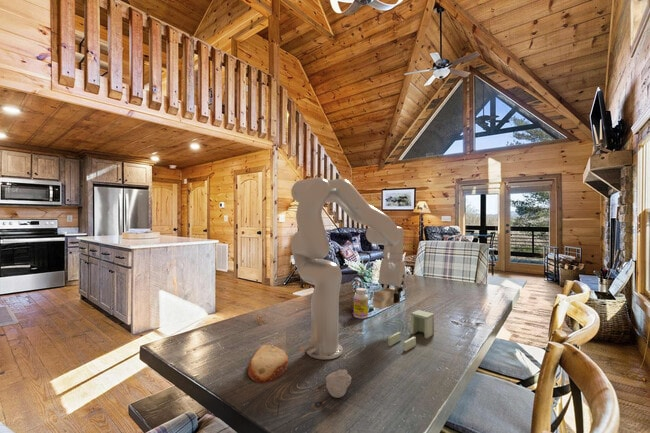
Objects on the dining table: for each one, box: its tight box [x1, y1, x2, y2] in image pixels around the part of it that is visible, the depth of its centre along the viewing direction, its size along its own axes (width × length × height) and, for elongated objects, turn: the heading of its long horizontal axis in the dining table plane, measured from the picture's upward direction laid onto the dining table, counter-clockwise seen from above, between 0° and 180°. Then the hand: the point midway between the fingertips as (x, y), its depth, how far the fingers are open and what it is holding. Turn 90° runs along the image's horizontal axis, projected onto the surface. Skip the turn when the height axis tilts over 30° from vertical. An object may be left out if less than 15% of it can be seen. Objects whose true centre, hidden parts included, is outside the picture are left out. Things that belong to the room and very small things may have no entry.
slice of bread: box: [247, 344, 289, 384], centre depth 98 cm, size 18×18×4 cm
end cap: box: [410, 309, 435, 339], centre depth 124 cm, size 6×7×8 cm
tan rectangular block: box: [372, 286, 401, 310], centre depth 124 cm, size 14×4×6 cm, turn 135°
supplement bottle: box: [353, 287, 369, 320], centre depth 144 cm, size 7×7×13 cm
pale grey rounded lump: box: [325, 369, 352, 399], centre depth 81 cm, size 6×7×7 cm
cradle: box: [387, 331, 417, 352], centre depth 113 cm, size 7×7×3 cm
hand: (391, 301), depth 126 cm, fingers closed on tan rectangular block, 3 cm apart
